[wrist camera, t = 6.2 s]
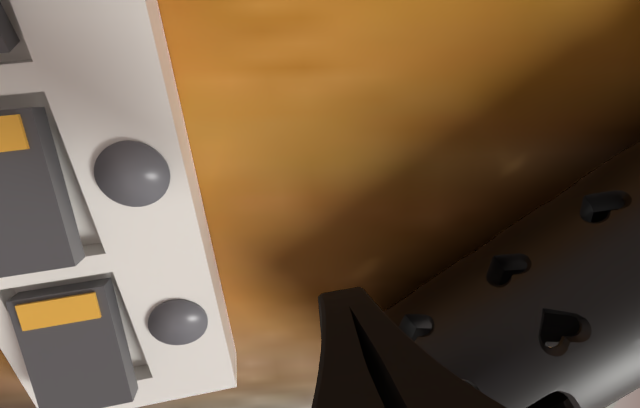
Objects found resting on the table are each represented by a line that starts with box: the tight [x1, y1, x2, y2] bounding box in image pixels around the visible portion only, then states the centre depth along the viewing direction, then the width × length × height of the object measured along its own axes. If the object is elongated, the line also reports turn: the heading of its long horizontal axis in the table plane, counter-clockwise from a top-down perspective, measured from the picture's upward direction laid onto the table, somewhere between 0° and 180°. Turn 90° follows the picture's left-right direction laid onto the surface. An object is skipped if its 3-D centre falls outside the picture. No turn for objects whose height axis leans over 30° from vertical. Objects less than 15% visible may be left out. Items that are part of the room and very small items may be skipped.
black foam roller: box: [383, 142, 640, 408], centre depth 20 cm, size 10×28×10 cm, turn 125°
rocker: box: [6, 277, 138, 408], centre depth 19 cm, size 6×4×1 cm, turn 3°
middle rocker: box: [0, 107, 85, 278], centre depth 15 cm, size 6×4×1 cm, turn 3°
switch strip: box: [0, 0, 237, 408], centre depth 17 cm, size 27×10×3 cm, turn 4°
